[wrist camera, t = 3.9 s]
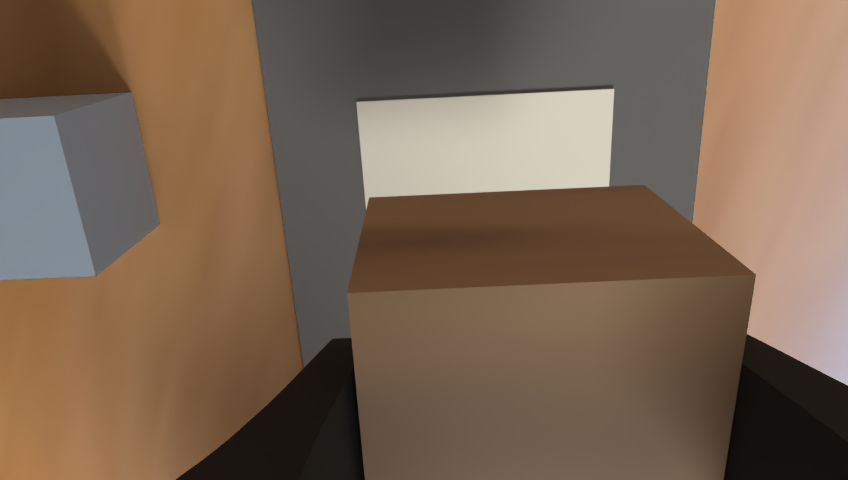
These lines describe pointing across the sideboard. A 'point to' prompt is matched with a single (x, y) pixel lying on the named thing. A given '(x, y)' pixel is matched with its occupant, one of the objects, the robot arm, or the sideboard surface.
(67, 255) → the blue block
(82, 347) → the sideboard surface
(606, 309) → the walnut block
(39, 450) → the sideboard surface
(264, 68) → the mat
